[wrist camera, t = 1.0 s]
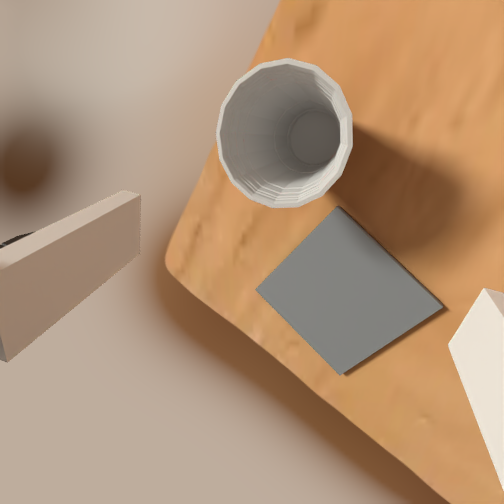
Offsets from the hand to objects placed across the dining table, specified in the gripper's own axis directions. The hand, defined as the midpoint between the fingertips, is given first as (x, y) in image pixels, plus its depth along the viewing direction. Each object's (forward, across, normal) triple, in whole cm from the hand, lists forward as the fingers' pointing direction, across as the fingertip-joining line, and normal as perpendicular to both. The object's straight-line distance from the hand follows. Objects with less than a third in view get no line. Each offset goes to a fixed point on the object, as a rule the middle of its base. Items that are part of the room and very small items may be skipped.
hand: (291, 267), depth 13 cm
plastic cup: (+27, +1, -1) cm, 27 cm away
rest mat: (+23, -6, +15) cm, 28 cm away
